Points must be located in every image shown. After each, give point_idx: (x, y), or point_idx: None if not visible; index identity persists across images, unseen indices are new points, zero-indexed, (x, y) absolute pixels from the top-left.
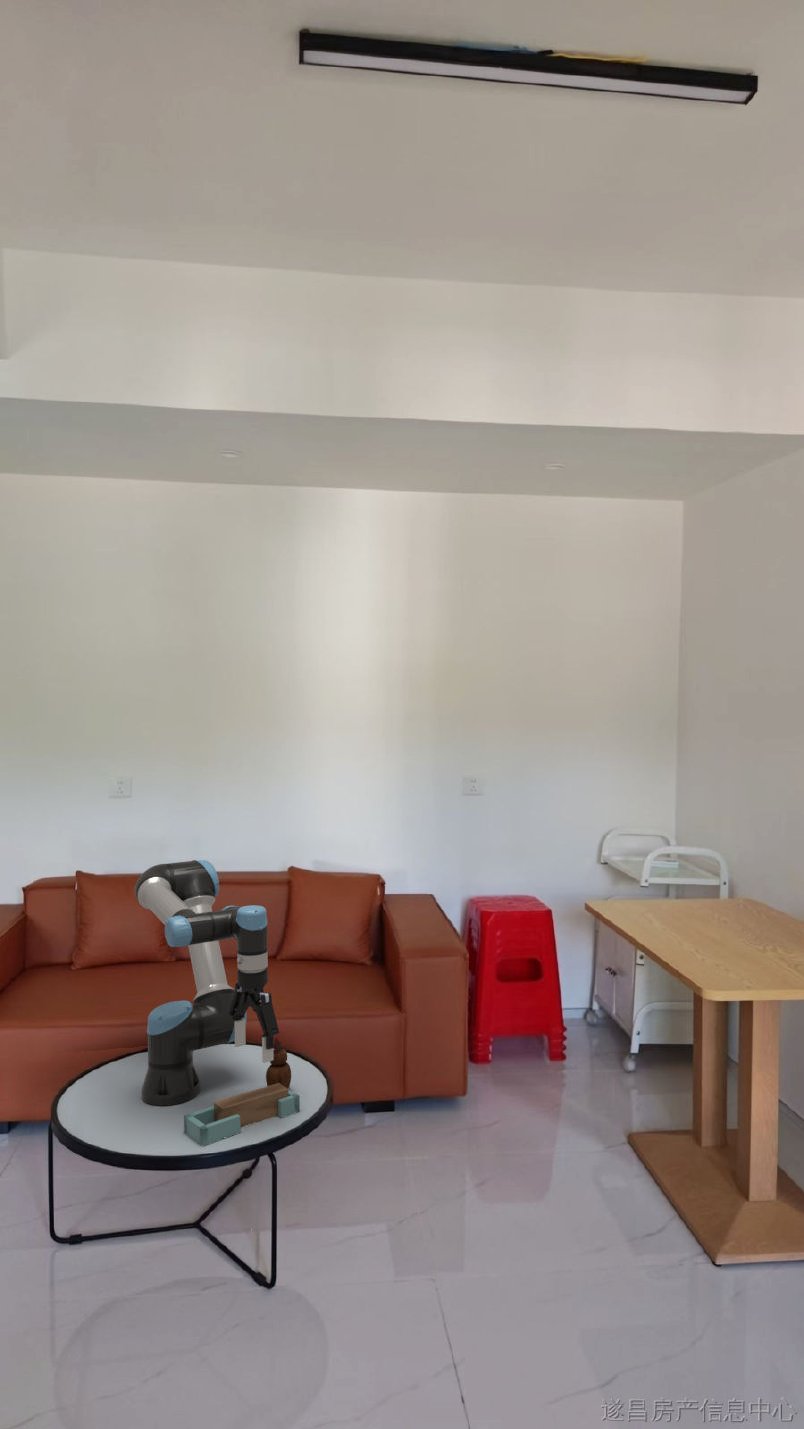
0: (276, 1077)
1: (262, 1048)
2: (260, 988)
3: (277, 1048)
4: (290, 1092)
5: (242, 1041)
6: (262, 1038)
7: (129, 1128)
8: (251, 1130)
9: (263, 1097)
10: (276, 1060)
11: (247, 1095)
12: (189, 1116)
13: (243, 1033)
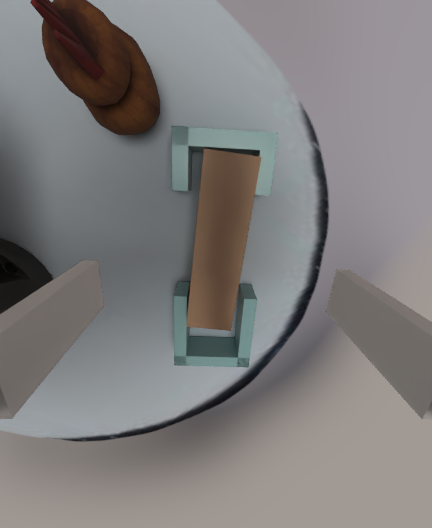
0: (149, 118)
1: (365, 352)
2: None
3: (86, 52)
4: (244, 139)
5: (90, 284)
6: (410, 400)
7: (106, 388)
8: (259, 266)
9: (247, 235)
10: (120, 90)
11: (211, 259)
12: (184, 360)
13: (67, 298)
